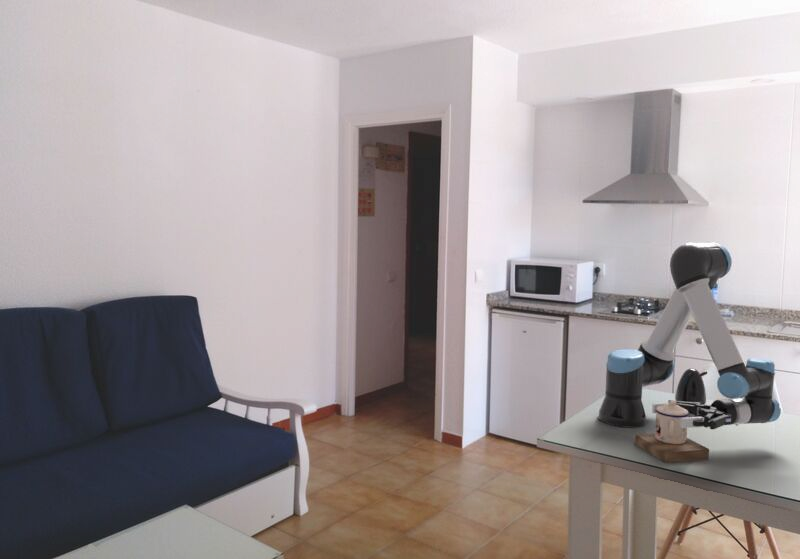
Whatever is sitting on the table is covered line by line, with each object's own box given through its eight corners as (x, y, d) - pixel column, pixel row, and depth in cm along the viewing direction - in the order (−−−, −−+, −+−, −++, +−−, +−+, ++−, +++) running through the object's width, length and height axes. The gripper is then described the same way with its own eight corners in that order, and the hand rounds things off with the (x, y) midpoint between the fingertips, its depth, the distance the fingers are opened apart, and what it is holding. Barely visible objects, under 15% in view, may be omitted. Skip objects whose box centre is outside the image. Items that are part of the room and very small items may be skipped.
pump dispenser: (711, 415, 231) (714, 372, 229) (681, 414, 231) (684, 371, 229) (698, 406, 241) (701, 365, 239) (669, 405, 241) (672, 365, 240)
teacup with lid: (654, 432, 202) (656, 395, 201) (686, 437, 198) (689, 399, 197) (653, 445, 191) (655, 406, 189) (687, 450, 187) (690, 410, 186)
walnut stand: (634, 444, 200) (635, 434, 200) (675, 441, 203) (675, 431, 203) (665, 462, 186) (666, 452, 185) (708, 459, 189) (709, 449, 189)
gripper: (759, 438, 186) (694, 442, 181) (700, 411, 210) (641, 414, 205) (761, 412, 185) (695, 416, 180) (702, 388, 209) (642, 391, 204)
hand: (666, 415), depth 193 cm, fingers open, 13 cm apart
